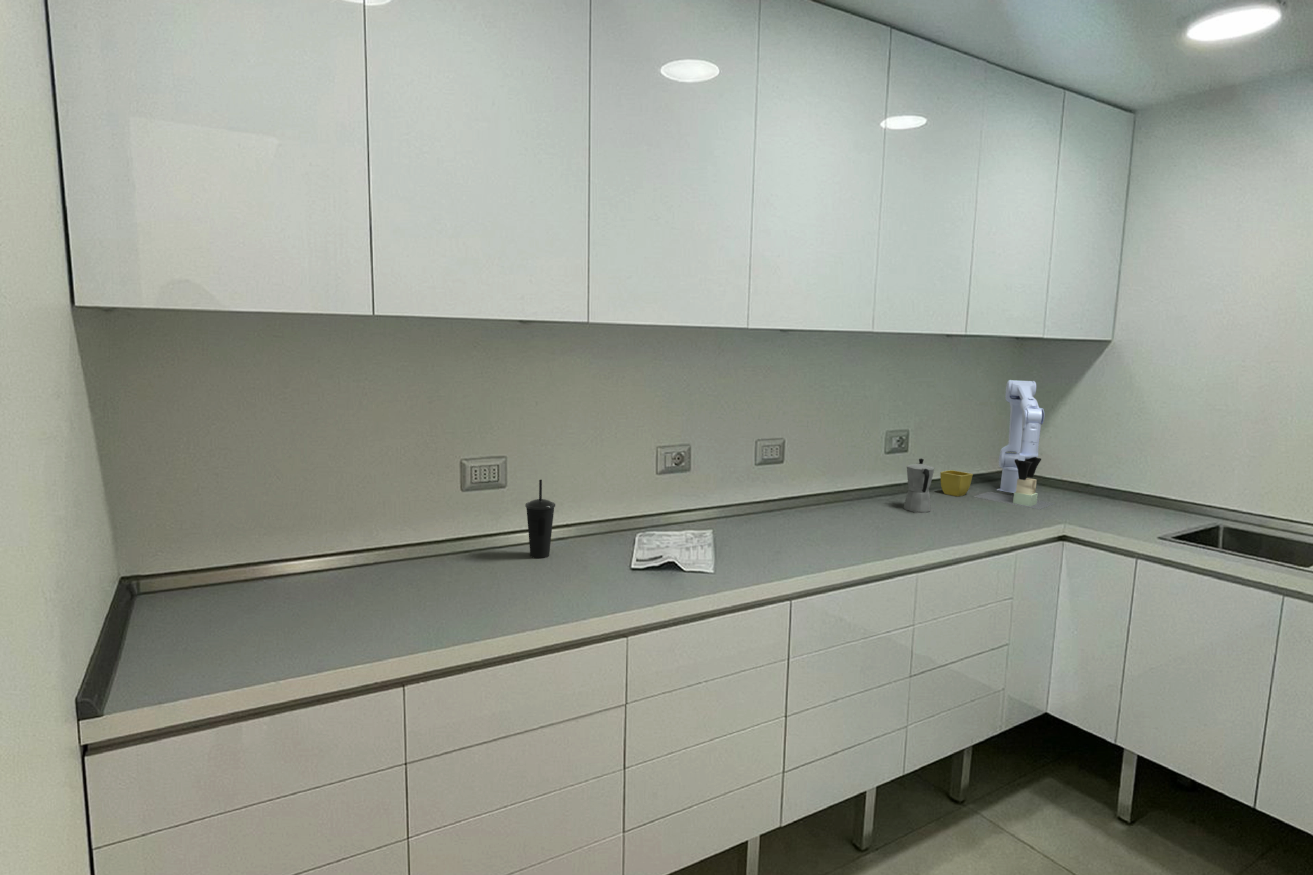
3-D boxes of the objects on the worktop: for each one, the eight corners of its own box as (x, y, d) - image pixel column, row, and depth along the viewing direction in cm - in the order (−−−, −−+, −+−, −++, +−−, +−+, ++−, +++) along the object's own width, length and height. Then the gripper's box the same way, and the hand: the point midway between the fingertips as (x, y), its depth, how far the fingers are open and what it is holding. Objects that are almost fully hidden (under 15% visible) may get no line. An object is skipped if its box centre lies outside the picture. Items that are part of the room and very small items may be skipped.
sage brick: (1019, 500, 268) (1020, 490, 267) (1036, 504, 263) (1037, 493, 263) (1012, 503, 264) (1014, 492, 263) (1030, 506, 259) (1031, 495, 259)
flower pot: (949, 492, 282) (951, 469, 280) (971, 496, 275) (973, 473, 274) (937, 495, 276) (939, 471, 275) (959, 499, 269) (961, 475, 268)
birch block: (1020, 490, 266) (1022, 477, 266) (1035, 493, 263) (1036, 479, 262) (1015, 492, 263) (1017, 478, 262) (1030, 494, 259) (1032, 481, 259)
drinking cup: (560, 554, 188) (561, 479, 185) (541, 562, 182) (542, 484, 179) (538, 549, 192) (538, 475, 189) (518, 556, 186) (519, 480, 183)
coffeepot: (898, 504, 258) (902, 454, 256) (925, 505, 258) (929, 455, 255) (909, 514, 243) (914, 462, 240) (938, 516, 242) (943, 463, 240)
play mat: (989, 493, 282) (989, 491, 282) (1055, 505, 265) (1055, 503, 265) (972, 498, 272) (972, 496, 272) (1039, 511, 255) (1040, 509, 255)
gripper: (1025, 438, 269) (1021, 474, 271) (1011, 441, 258) (1007, 478, 260) (1045, 440, 264) (1041, 477, 266) (1032, 444, 254) (1028, 482, 256)
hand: (1026, 478), depth 263 cm, fingers open, 7 cm apart
